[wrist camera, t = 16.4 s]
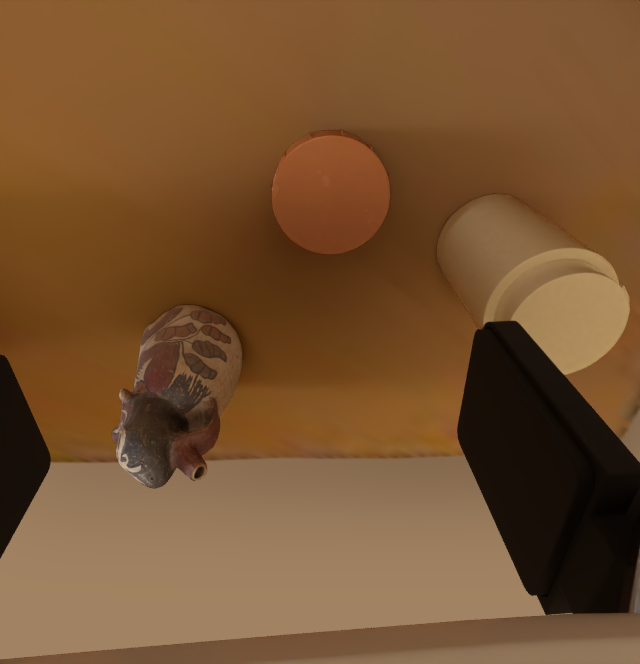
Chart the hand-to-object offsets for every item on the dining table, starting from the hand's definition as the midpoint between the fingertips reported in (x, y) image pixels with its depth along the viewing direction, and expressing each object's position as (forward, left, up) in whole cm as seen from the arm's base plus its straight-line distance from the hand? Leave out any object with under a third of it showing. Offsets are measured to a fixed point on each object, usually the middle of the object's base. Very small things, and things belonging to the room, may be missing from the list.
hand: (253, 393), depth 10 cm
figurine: (-13, -7, -21) cm, 25 cm away
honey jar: (+8, -12, -21) cm, 25 cm away
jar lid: (+2, -3, -19) cm, 20 cm away
